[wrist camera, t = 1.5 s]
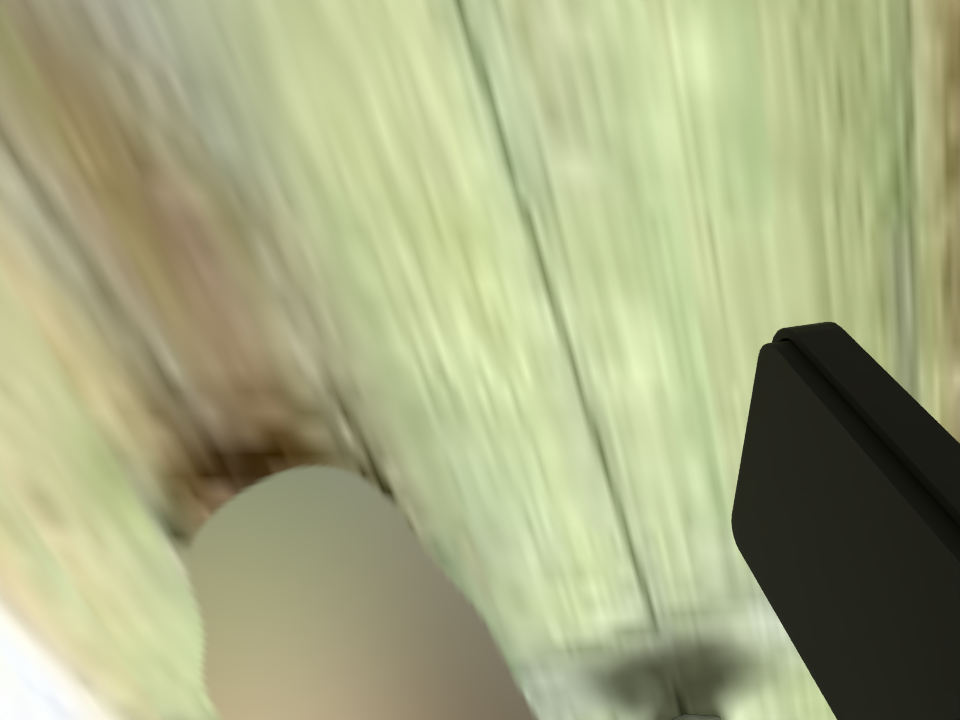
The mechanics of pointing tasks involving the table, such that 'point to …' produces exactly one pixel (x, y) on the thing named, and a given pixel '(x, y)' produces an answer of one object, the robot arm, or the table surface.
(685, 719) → the coffee maker
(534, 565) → the table surface
